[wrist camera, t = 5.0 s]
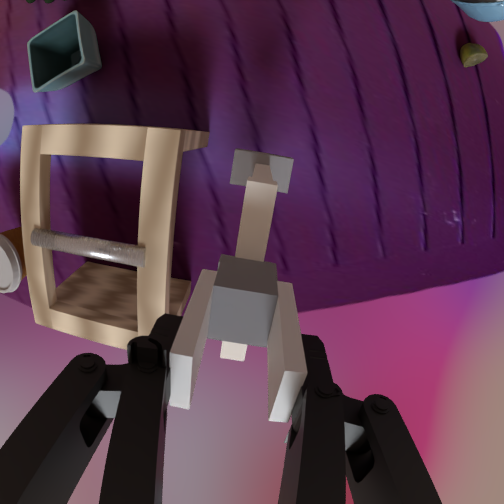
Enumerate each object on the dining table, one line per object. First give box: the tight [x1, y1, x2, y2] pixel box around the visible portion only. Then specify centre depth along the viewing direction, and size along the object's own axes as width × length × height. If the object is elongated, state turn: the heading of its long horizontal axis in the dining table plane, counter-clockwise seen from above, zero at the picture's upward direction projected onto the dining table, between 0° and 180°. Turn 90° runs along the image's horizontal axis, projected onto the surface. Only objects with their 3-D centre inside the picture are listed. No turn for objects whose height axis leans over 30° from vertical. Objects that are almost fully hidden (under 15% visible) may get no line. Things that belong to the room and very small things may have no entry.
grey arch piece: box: [207, 149, 294, 361], centre depth 22 cm, size 5×13×16 cm, turn 171°
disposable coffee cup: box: [0, 227, 27, 293], centre depth 40 cm, size 10×10×12 cm
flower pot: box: [27, 10, 102, 92], centre depth 31 cm, size 9×9×9 cm
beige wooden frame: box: [20, 124, 209, 350], centre depth 36 cm, size 18×24×17 cm
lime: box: [460, 43, 488, 67], centre depth 31 cm, size 4×5×5 cm
